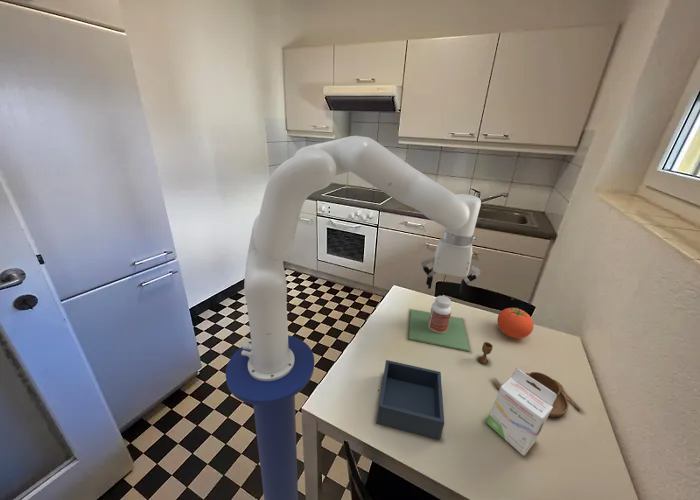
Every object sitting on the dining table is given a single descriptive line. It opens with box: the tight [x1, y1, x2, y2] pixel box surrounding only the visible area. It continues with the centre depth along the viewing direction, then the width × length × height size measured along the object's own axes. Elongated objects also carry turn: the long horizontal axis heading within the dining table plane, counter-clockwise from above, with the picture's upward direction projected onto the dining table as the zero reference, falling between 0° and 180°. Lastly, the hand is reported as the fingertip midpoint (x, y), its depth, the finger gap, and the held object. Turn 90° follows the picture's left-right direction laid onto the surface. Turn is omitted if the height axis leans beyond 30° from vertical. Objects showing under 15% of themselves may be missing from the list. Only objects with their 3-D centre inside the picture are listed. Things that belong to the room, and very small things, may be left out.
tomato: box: [496, 307, 535, 339], centre depth 90 cm, size 10×10×10 cm
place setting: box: [477, 341, 581, 417], centre depth 73 cm, size 18×20×6 cm
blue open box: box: [375, 359, 445, 441], centre depth 65 cm, size 14×14×6 cm
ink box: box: [486, 367, 557, 456], centre depth 58 cm, size 9×5×15 cm, turn 35°
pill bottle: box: [428, 295, 452, 333], centre depth 90 cm, size 6×6×11 cm
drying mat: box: [408, 308, 470, 352], centre depth 93 cm, size 18×16×1 cm
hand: (444, 289), depth 86 cm, fingers open, 9 cm apart
